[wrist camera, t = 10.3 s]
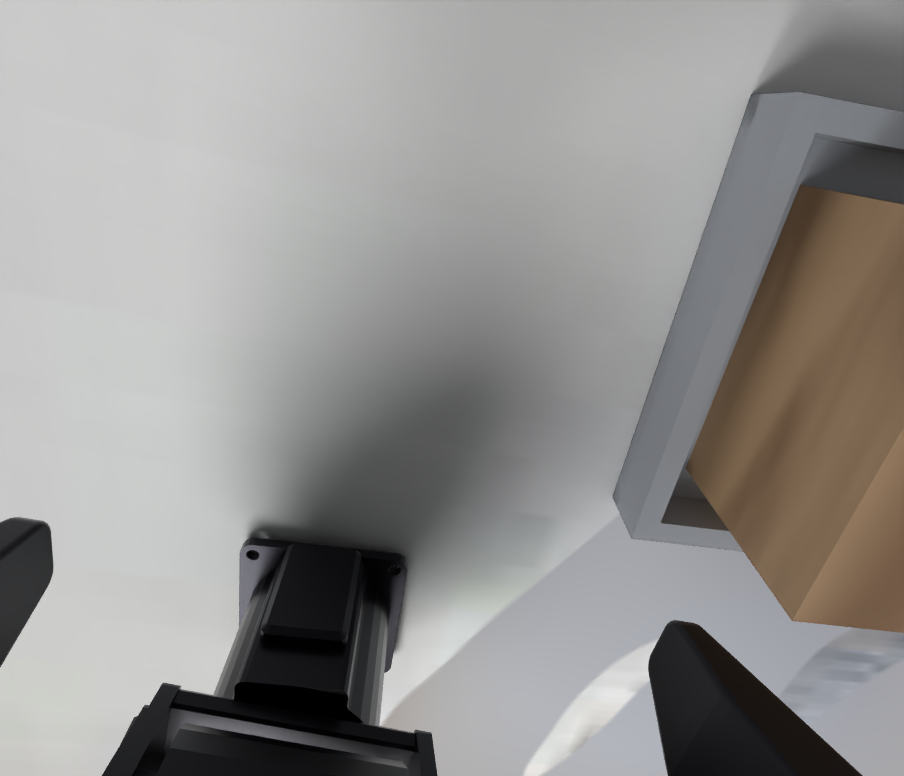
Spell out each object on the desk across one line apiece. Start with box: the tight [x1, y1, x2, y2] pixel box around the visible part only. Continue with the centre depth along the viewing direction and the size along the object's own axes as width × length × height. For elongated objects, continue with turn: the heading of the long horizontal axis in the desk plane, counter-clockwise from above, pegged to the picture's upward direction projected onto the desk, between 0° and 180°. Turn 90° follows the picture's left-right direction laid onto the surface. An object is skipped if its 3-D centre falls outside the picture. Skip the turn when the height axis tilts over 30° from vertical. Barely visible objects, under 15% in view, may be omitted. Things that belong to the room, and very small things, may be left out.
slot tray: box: [613, 92, 904, 552], centre depth 19 cm, size 14×9×2 cm, turn 171°
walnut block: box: [686, 185, 904, 633], centre depth 16 cm, size 4×10×7 cm, turn 171°
